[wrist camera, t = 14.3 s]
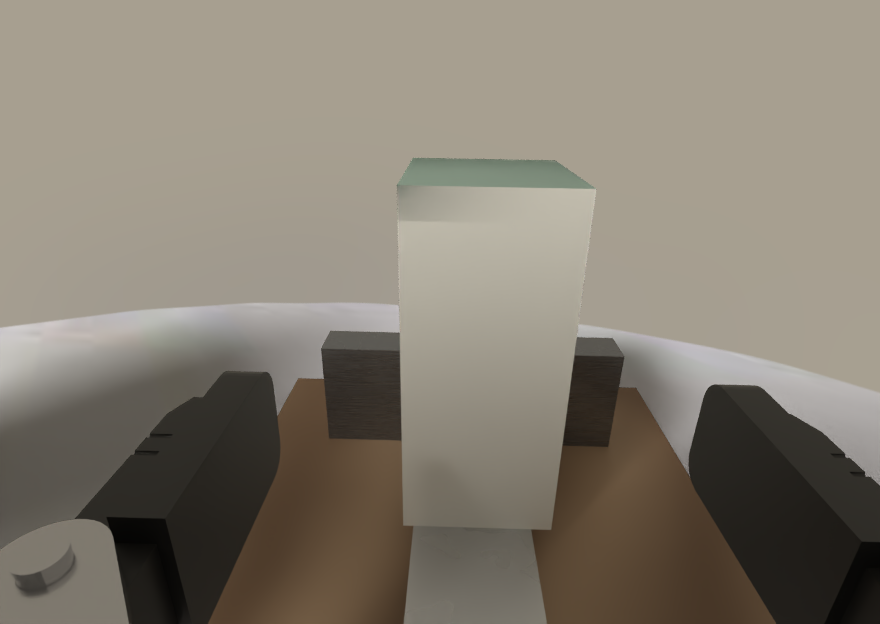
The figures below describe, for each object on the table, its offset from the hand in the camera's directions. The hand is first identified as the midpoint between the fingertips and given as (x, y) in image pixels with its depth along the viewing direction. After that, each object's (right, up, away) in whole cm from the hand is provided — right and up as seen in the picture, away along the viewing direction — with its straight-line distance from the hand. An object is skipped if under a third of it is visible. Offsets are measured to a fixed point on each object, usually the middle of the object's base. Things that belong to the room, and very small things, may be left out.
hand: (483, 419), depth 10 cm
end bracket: (0, -3, +12) cm, 12 cm away
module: (0, -3, +8) cm, 9 cm away
